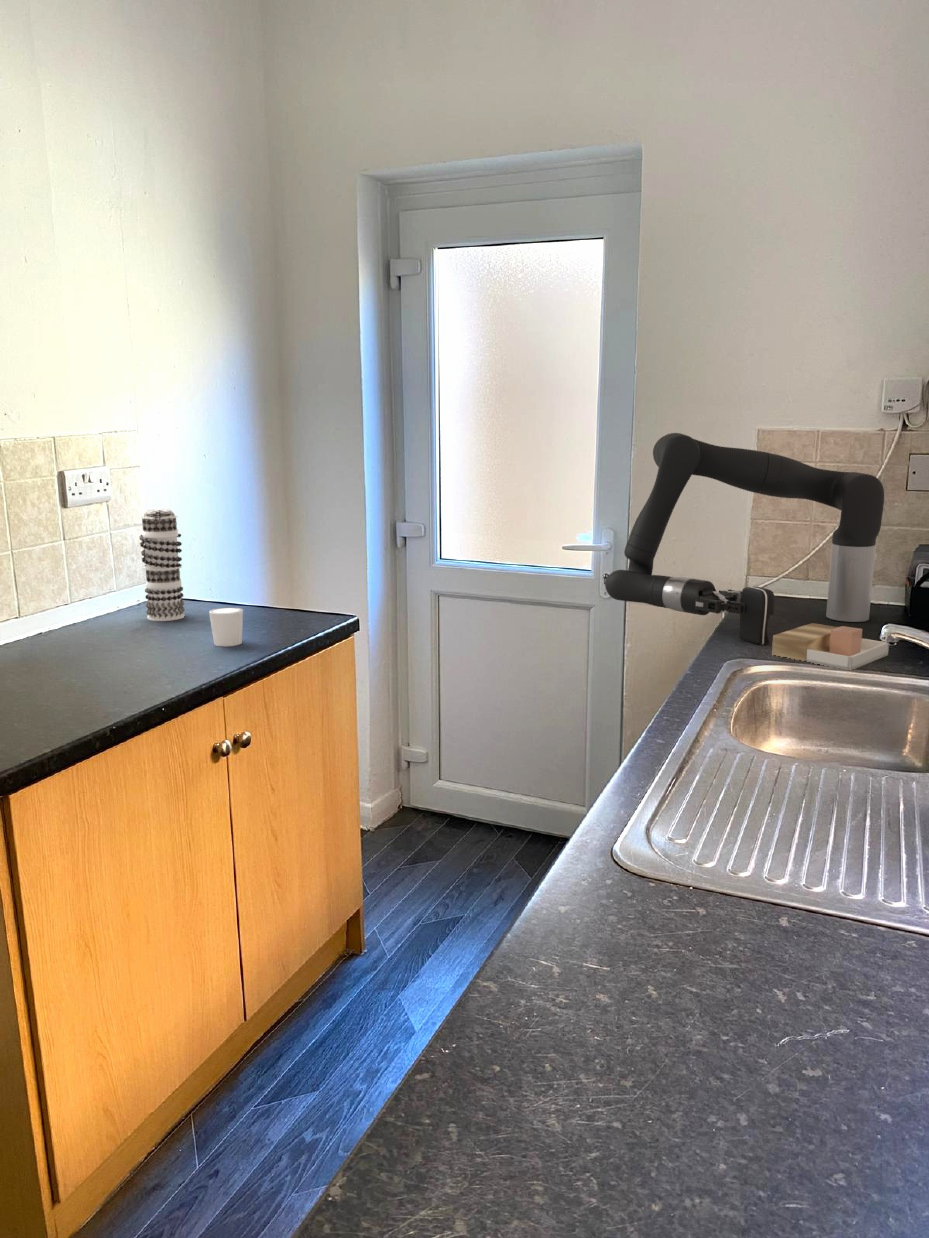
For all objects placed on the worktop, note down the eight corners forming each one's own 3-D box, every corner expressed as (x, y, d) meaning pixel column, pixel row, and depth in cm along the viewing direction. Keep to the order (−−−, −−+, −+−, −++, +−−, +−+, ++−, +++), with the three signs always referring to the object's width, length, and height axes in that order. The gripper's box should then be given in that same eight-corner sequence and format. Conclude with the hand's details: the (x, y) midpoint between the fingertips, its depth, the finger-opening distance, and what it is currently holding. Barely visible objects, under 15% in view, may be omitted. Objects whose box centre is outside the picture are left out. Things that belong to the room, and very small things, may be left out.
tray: (845, 647, 194) (846, 635, 193) (888, 655, 188) (889, 642, 187) (806, 662, 183) (807, 649, 182) (850, 670, 177) (851, 657, 176)
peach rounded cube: (842, 625, 188) (862, 629, 185) (840, 650, 189) (860, 654, 186) (831, 629, 185) (851, 633, 182) (829, 655, 186) (849, 658, 183)
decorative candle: (147, 614, 228) (140, 508, 222) (188, 612, 229) (181, 508, 224) (142, 622, 219) (134, 512, 214) (184, 620, 221) (177, 511, 215)
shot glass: (247, 645, 197) (245, 612, 196) (213, 648, 195) (211, 614, 193) (242, 638, 203) (240, 605, 202) (209, 641, 201) (207, 608, 199)
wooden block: (810, 641, 199) (811, 623, 198) (843, 647, 194) (844, 628, 193) (771, 655, 188) (773, 635, 187) (805, 661, 183) (807, 641, 182)
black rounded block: (774, 644, 197) (778, 589, 195) (760, 646, 195) (763, 591, 193) (751, 637, 203) (755, 584, 201) (737, 638, 202) (740, 585, 199)
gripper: (670, 582, 203) (739, 592, 192) (707, 574, 213) (774, 584, 202) (669, 617, 205) (737, 629, 193) (705, 607, 215) (772, 618, 203)
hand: (756, 606), depth 198 cm, fingers open, 8 cm apart
